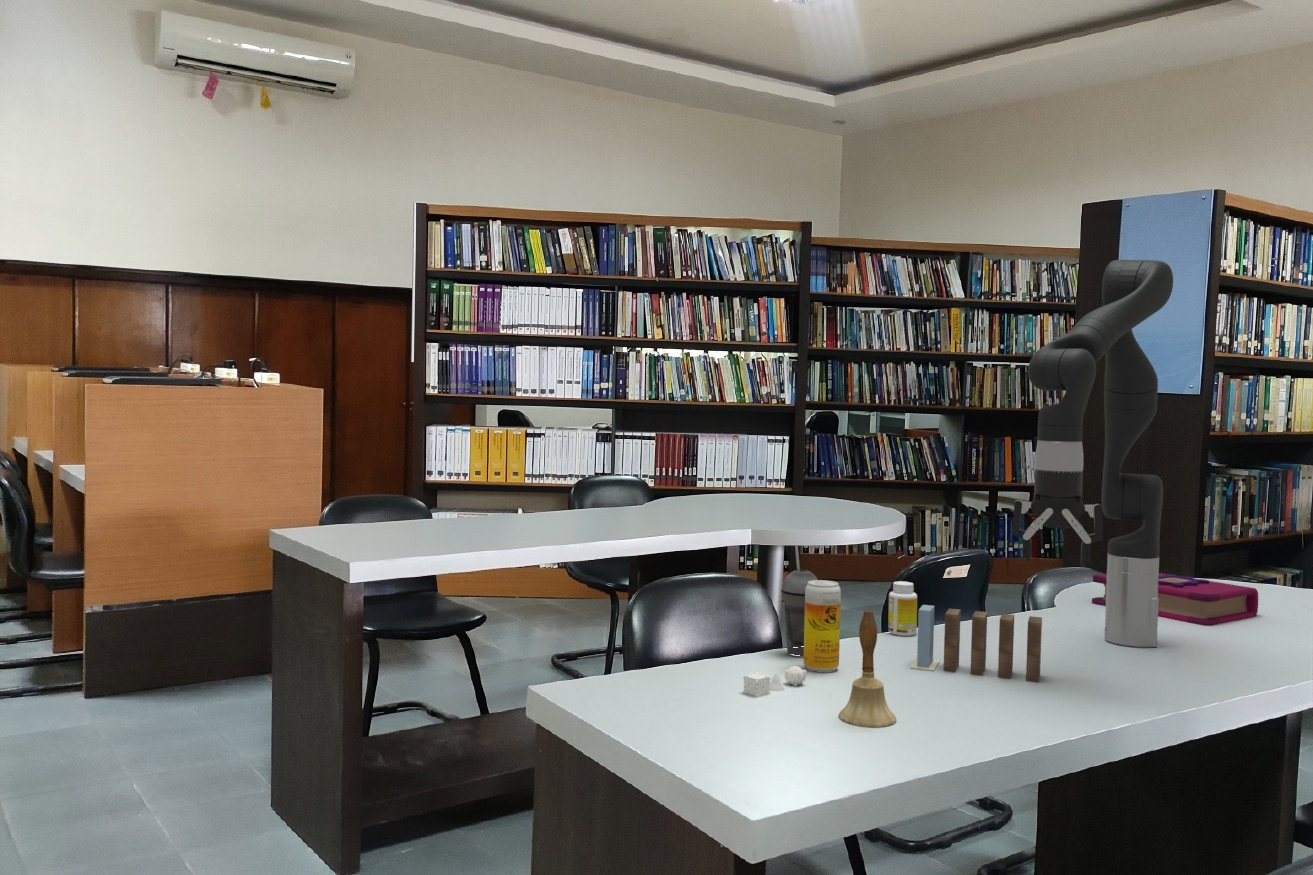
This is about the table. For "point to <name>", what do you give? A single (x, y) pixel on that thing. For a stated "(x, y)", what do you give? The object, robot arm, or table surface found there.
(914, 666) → the plate
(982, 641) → the domino
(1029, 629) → the domino
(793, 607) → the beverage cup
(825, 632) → the beer can
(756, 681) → the game pieces
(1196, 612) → the book
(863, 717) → the hand bell
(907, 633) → the supplement bottle
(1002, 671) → the domino
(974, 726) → the table surface
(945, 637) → the domino
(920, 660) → the domino
